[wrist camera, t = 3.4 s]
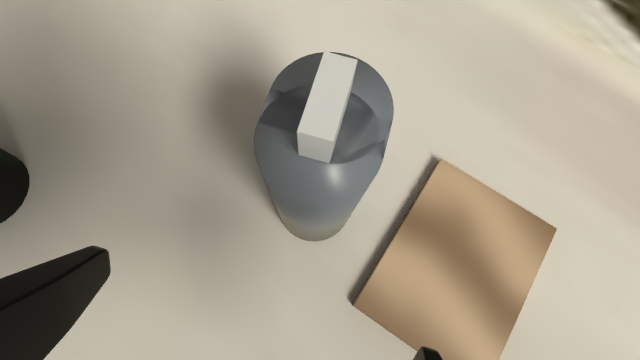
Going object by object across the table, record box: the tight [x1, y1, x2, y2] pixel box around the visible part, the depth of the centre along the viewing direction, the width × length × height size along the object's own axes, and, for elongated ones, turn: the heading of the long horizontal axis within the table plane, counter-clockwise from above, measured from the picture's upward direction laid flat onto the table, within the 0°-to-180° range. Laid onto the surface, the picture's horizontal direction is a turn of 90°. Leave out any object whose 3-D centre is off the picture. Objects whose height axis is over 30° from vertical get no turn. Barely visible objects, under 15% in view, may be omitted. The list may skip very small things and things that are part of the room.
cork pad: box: [353, 159, 557, 360], centre depth 22 cm, size 12×9×1 cm
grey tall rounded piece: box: [254, 51, 393, 241], centre depth 17 cm, size 7×5×13 cm
